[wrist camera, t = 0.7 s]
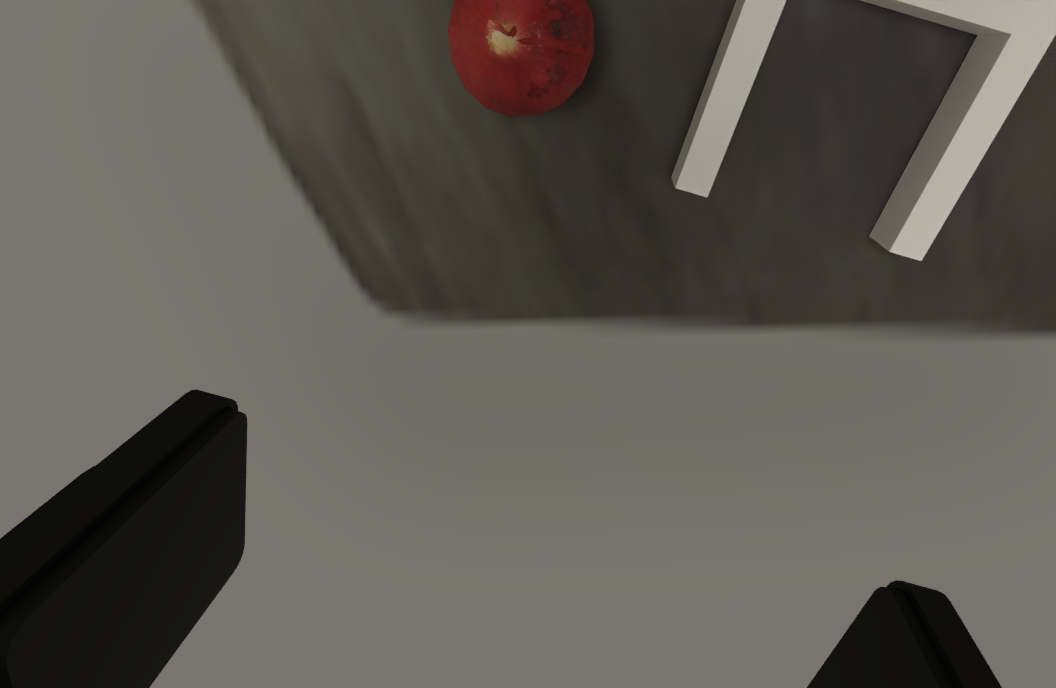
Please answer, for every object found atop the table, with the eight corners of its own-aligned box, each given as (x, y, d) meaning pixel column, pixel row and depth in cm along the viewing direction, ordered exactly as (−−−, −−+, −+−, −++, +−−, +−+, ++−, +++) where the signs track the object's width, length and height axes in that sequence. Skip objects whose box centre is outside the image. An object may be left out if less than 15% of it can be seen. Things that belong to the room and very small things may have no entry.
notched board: (779, -119, 24) (795, -135, 22) (1058, -37, 24) (1102, -44, 22) (671, 177, 30) (675, 188, 28) (898, 244, 30) (921, 261, 28)
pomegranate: (594, -41, 26) (585, -72, 19) (599, 103, 29) (593, 122, 22) (462, -25, 27) (408, -50, 20) (478, 112, 30) (434, 134, 23)
